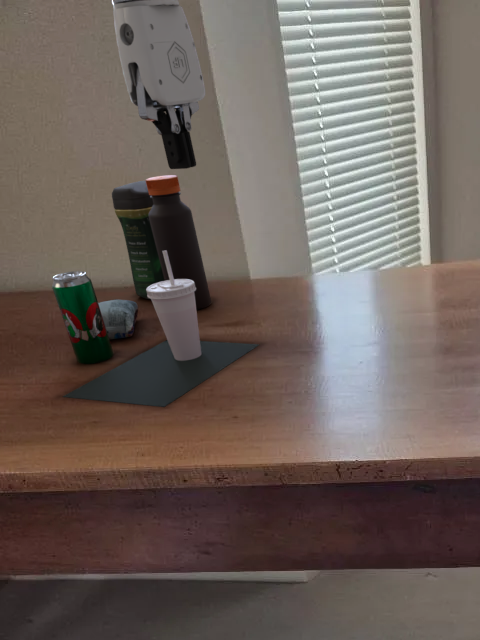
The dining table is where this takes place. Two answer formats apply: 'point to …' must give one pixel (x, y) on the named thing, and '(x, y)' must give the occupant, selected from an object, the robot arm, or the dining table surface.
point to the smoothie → (177, 314)
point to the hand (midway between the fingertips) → (183, 167)
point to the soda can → (82, 317)
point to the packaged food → (119, 317)
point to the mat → (160, 375)
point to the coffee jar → (138, 234)
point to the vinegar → (176, 235)
